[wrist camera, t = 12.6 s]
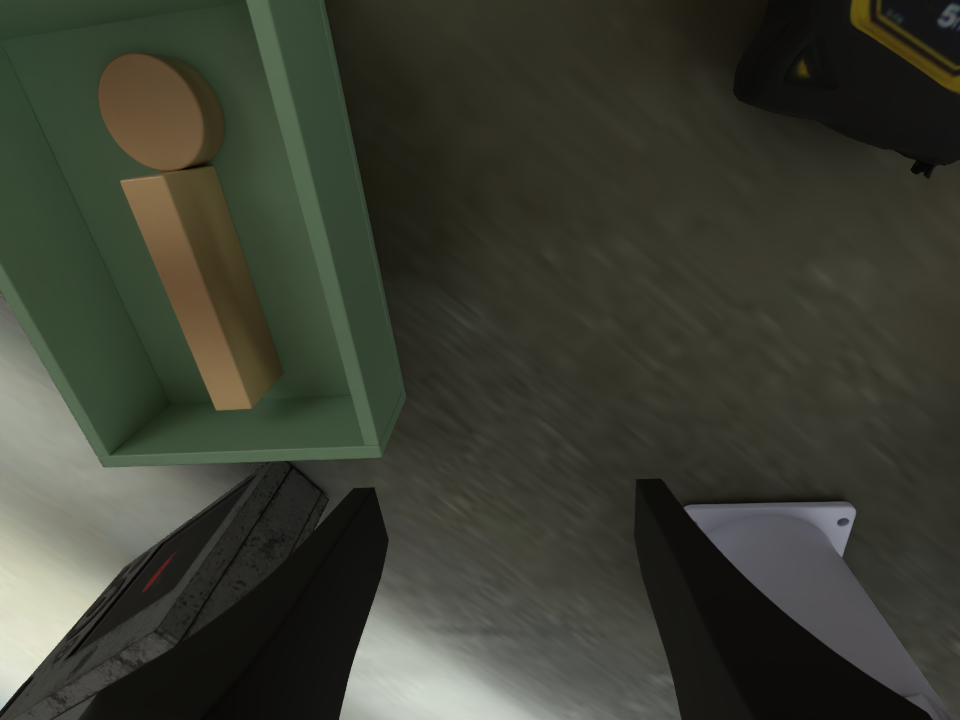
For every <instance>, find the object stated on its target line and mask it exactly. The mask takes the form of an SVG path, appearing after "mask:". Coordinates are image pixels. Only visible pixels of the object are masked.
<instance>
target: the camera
mask: <svg viewBox="0 0 960 720" xmlns="http://www.w3.org/2000/svg"><path fill="white" fill-rule="evenodd" d="M328 501H329V499H328V498H327V497H326V496H325V495H324V494H323V493H321V492H320V491H319V490H318V489H317V488H316V487H315V486H313V485H312V484H311V483H310V482H309V481H308V480H306V479H305V478H304V477H303V476H302V475H301V474H299V473H298V472H297V471H296V470H295V469H294V468H293V467H291V466H290V465H289V464H288V463H287V462H286V461H270V462H268V463H267V464H266V465H264V466H263V467H261V468H260V469H259V470H257V471H256V472H255V473H253V474H252V475H251V476H249V477H248V478H246V479H245V480H244V481H242V482H241V483H240V484H238V485H237V486H235V487H234V488H233V489H231V490H230V491H229V492H227V493H226V494H224V495H223V496H222V497H220V498H219V499H218V500H216V501H215V502H214V503H212V504H211V505H209V506H208V507H207V508H205V509H204V510H203V511H201V512H200V513H198V514H197V515H196V516H194V517H193V518H192V519H190V520H189V521H187V522H186V523H185V524H183V525H182V526H181V527H179V528H178V529H176V530H175V531H174V532H172V533H171V534H170V535H168V536H167V537H166V538H164V539H163V540H161V541H160V542H159V543H157V544H156V545H155V546H153V547H152V548H150V549H149V550H148V551H146V552H145V553H144V554H142V555H141V556H139V557H138V558H137V559H135V560H134V561H133V562H131V563H130V564H128V565H127V566H125V567H124V568H123V569H122V571H121V572H120V573H119V574H118V575H117V577H116V578H115V579H114V580H113V581H112V582H111V583H110V585H109V586H108V587H107V588H106V589H105V590H104V592H103V593H102V594H101V595H100V596H99V597H98V599H97V600H96V601H95V602H94V603H93V604H92V605H91V607H90V608H89V609H88V610H87V611H86V612H85V614H84V615H83V616H82V617H81V618H80V619H79V620H78V622H77V623H76V624H75V625H74V626H73V627H72V629H71V630H70V631H69V632H68V633H67V634H66V636H65V637H64V638H63V639H62V640H61V641H60V642H59V644H58V645H57V646H56V647H55V648H54V649H53V651H52V652H51V653H50V654H49V655H48V656H47V657H46V659H45V660H44V661H43V662H42V663H41V664H40V666H39V667H38V668H37V669H36V670H35V671H34V673H33V674H32V675H31V676H30V677H29V678H28V679H27V681H25V682H24V683H23V684H22V686H21V687H20V688H19V689H18V690H17V692H16V693H15V694H14V695H13V696H12V697H11V699H10V700H9V701H8V702H7V703H6V705H5V706H4V707H3V708H2V709H1V711H0V720H78V719H79V717H80V716H81V715H82V713H83V712H84V711H85V709H86V708H87V707H88V705H89V704H90V702H91V701H92V700H93V698H94V697H95V696H96V694H97V693H98V692H99V691H100V690H101V689H103V688H105V687H107V686H109V685H111V684H112V683H114V682H116V681H118V680H119V679H121V678H123V677H125V676H126V675H128V674H130V673H132V672H133V671H135V670H137V669H139V668H140V667H142V666H144V665H146V664H147V663H149V662H151V661H152V660H154V659H156V658H157V657H159V656H160V655H162V654H164V653H165V652H167V651H168V650H170V649H171V648H173V647H175V646H176V645H178V644H179V643H181V642H182V641H184V640H185V639H187V638H188V637H190V636H191V635H193V634H194V633H196V632H197V631H199V630H200V629H201V628H203V627H204V626H206V625H207V624H208V623H210V622H211V621H212V620H214V619H215V618H216V617H218V616H219V615H220V614H222V613H223V612H224V611H226V610H227V609H229V608H230V607H231V606H233V605H234V604H235V603H236V602H238V601H239V600H240V599H242V598H243V597H244V596H245V595H246V594H248V593H249V592H250V591H251V590H252V589H254V588H255V587H256V586H257V585H258V584H260V583H261V582H262V581H263V580H264V579H265V578H266V577H268V576H269V575H270V574H271V573H272V572H273V571H274V570H275V569H276V568H277V567H278V566H279V565H280V564H281V563H283V562H284V561H285V560H286V559H287V558H288V557H289V556H290V555H291V554H292V553H293V552H294V551H295V550H296V549H297V548H298V547H299V546H300V545H301V544H302V543H303V542H304V541H305V540H306V539H307V538H308V537H309V536H310V535H311V534H312V533H313V531H314V529H315V527H316V525H317V523H318V521H319V519H320V517H321V515H322V513H323V511H324V509H325V507H326V505H327V503H328Z"/></svg>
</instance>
